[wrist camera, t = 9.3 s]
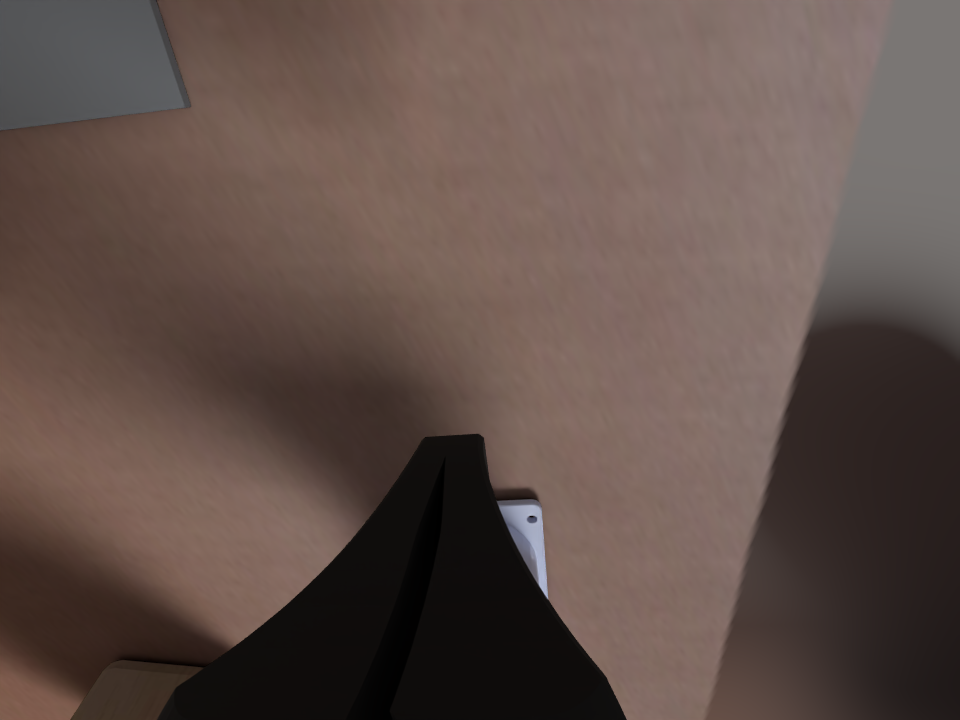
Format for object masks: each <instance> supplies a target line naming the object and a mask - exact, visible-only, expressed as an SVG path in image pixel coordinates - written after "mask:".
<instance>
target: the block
mask: <svg viewBox="0 0 960 720" xmlns="http://www.w3.org/2000/svg"><path fill="white" fill-rule="evenodd" d="M202 669H203V667H192V666H182V665H171V664H160V663H149V662H138V661H127V660H120V661H116V662H112V663H111V664H110V665H108V666H107V667H106V668H105V669H104V670H103V671H102V673H101V674H100V676H99V677H98V679H97V680H96V682H95V683H94V685H93V686H92V688H91V689H90V691H89V692H88V694H87V695H86V697H85V698H84V700H83V701H82V703H81V704H80V706H79V707H78V709H77V710H76V712H75V713H74V715H73V716H72V718H71V719H70V720H157V719H158V717H159V715H160V713H161V711H162V710H163V708H164V706H165V705H166V703H167V701H168V700H169V698H170V696H171V695H172V693H173V691H174V690H175V688H176V687H177V686H179V685H180V684H182V683H183V682H185V681H186V680H188V679H189V678H191V677H192V676H193V675H195V674H196V673H198V672H199V671H201V670H202Z"/></svg>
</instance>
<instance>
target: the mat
mask: <svg viewBox="0 0 960 720" xmlns="http://www.w3.org/2000/svg"><path fill="white" fill-rule="evenodd" d="M187 107H191V105H190V102H189V99H188V96H187V92H186V89H185V86H184V83H183V80H182V77H181V74H180V71H179V68H178V65H177V62H176V59H175V56H174V53H173V50H172V47H171V44H170V41H169V38H168V35H167V32H166V29H165V26H164V23H163V20H162V17H161V14H160V11H159V8H158V5H157V2H156V0H0V131H1V130H9V129H17V128H25V127H33V126H41V125H49V124H57V123H65V122H73V121H82V120H90V119H98V118H106V117H114V116H122V115H130V114H138V113H146V112H154V111H162V110H170V109H178V108H187Z"/></svg>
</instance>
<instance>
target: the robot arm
mask: <svg viewBox="0 0 960 720" xmlns="http://www.w3.org/2000/svg"><path fill="white" fill-rule="evenodd" d="M529 516H535V517H532V518H531V517H529ZM157 720H627V719H626V717H625V715H624V713H623V711H622V709H621V706H620V704H619V702H618V700H617V698H616V696H615V694H614V692H613V690H612V688H611V686H610V684H609V682H608V680H607V678H606V676H605V675H604V673H603V672H602V671H601V670H600V669H599V667H598V666H597V665H596V664H595V663H594V661H593V660H592V659H591V658H590V657H589V655H588V654H587V653H586V651H585V650H584V649H583V648H582V646H581V645H580V644H579V643H578V641H577V640H576V639H575V637H574V636H573V635H572V633H571V632H570V631H569V629H568V628H567V626H566V625H565V624H564V622H563V621H562V620H561V618H560V617H559V615H558V614H557V612H556V611H555V609H554V608H553V606H552V605H551V603H550V602H549V600H548V591H547V577H546V563H545V549H544V536H543V522H542V509H541V504H540V503H539V502H538V501H537V500H534V499H524V500H505V501H497V500H496V498H495V495H494V492H493V489H492V486H491V483H490V480H489V473H488V465H487V458H486V450H485V443H484V438H483V437H482V436H481V435H479V434H468V435H451V436H435V437H425V438H424V439H423V440H422V441H421V443H420V445H419V446H418V448H417V450H416V451H415V453H414V454H413V456H412V458H411V459H410V461H409V462H408V464H407V466H406V467H405V469H404V470H403V472H402V473H401V475H400V476H399V478H398V479H397V481H396V482H395V484H394V485H393V486H392V488H391V489H390V491H389V492H388V494H387V495H386V496H385V498H384V499H383V501H382V502H381V503H380V505H379V506H378V507H377V509H376V510H375V511H374V512H373V514H372V515H371V516H370V517H369V519H368V520H367V521H366V523H365V524H364V525H363V526H362V528H361V529H360V530H359V531H358V533H357V534H356V535H355V536H354V537H353V538H352V540H351V541H350V542H349V543H348V544H347V545H346V547H345V548H344V549H343V550H342V551H341V552H340V553H339V554H338V555H337V556H336V557H335V558H334V560H333V561H332V562H331V563H330V564H329V565H328V566H327V567H326V568H325V569H324V570H323V571H322V572H321V573H320V574H319V575H318V576H317V577H316V578H315V579H314V580H313V581H312V582H311V583H310V584H309V585H308V586H307V587H305V588H304V589H303V590H302V591H301V592H300V593H299V594H298V595H297V596H296V597H295V598H294V599H292V600H291V601H290V602H289V603H288V604H287V605H286V606H285V607H283V608H282V609H281V610H280V611H279V612H278V613H276V614H275V615H274V616H273V617H271V618H270V619H269V620H268V621H267V622H265V623H264V624H263V625H262V626H260V627H259V628H258V629H257V630H255V631H254V632H253V633H252V634H250V635H249V636H248V637H246V638H245V639H244V640H243V641H241V642H240V643H239V644H237V645H236V646H235V647H233V648H232V649H230V650H229V651H228V652H226V653H225V654H223V655H222V656H221V657H219V658H218V659H216V660H215V661H213V662H212V663H211V664H209V665H208V666H206V667H205V668H203V669H202V670H201V671H199V672H198V673H196V674H195V675H193V676H192V677H191V678H189V679H188V680H186V681H185V682H183V683H182V684H180V685H179V686H177V687H176V688H175V690H174V691H173V693H172V695H171V696H170V698H169V700H168V701H167V703H166V705H165V706H164V708H163V710H162V711H161V713H160V715H159V717H158V719H157Z"/></svg>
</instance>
